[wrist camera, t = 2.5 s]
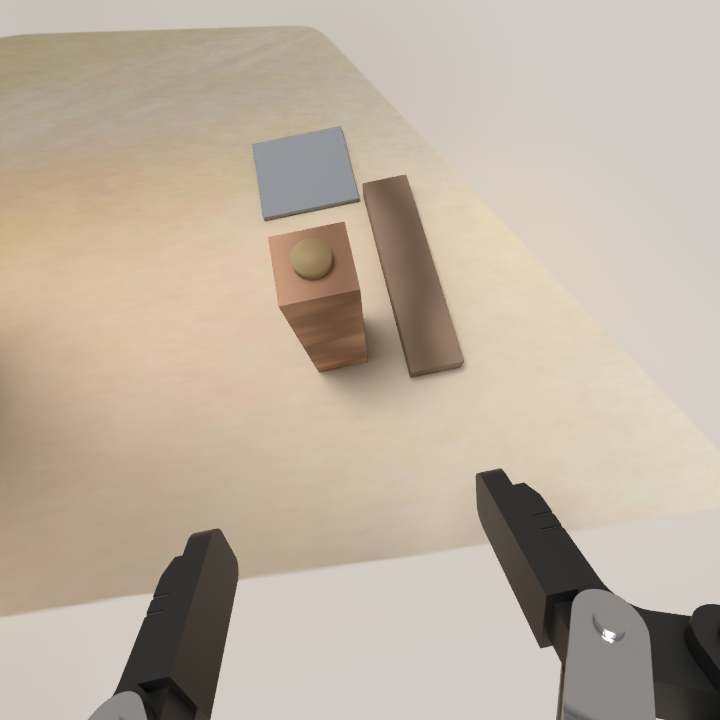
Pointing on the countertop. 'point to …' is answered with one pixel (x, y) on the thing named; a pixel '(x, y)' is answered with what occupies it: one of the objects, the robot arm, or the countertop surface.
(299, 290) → the post
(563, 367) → the countertop surface
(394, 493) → the countertop surface
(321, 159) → the slate mat
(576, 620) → the robot arm
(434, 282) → the walnut board
